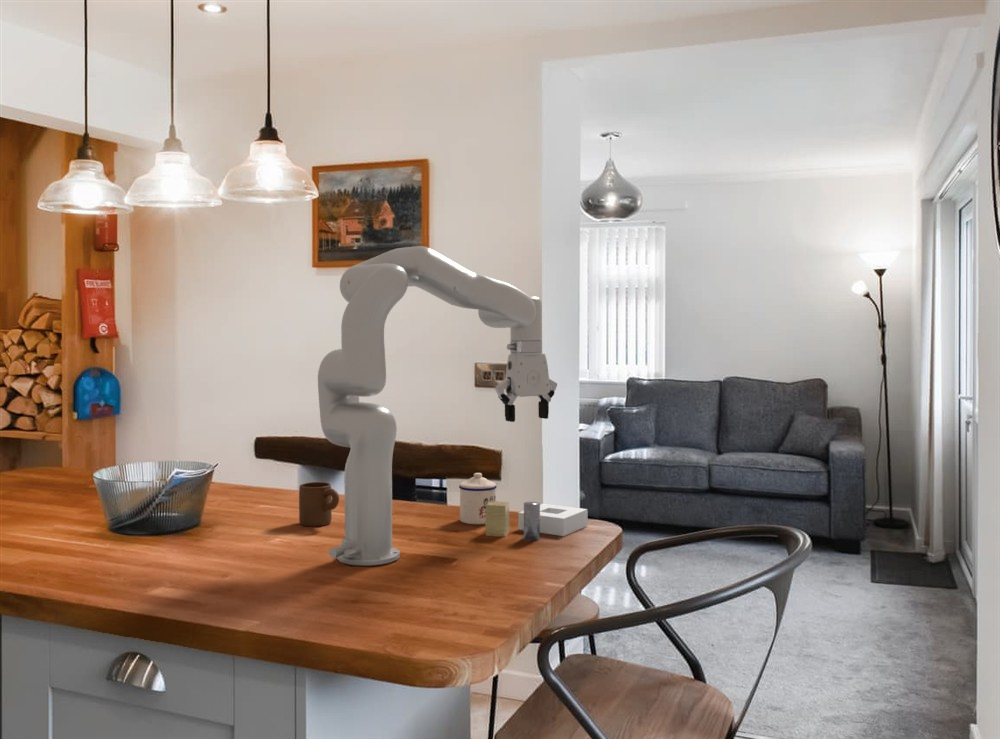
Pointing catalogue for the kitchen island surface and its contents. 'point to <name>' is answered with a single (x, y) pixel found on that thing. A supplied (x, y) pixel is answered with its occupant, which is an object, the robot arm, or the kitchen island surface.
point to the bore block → (558, 519)
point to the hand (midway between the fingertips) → (527, 419)
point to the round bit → (531, 521)
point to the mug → (316, 503)
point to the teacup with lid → (476, 499)
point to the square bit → (497, 518)
